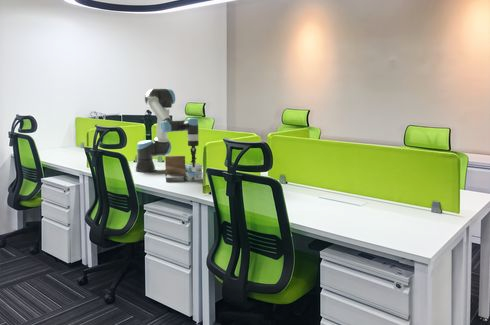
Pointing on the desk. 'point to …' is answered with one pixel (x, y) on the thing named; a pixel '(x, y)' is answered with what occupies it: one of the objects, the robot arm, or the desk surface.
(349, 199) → the desk surface
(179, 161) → the brown box
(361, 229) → the desk surface
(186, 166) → the light bulb box
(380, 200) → the desk surface
